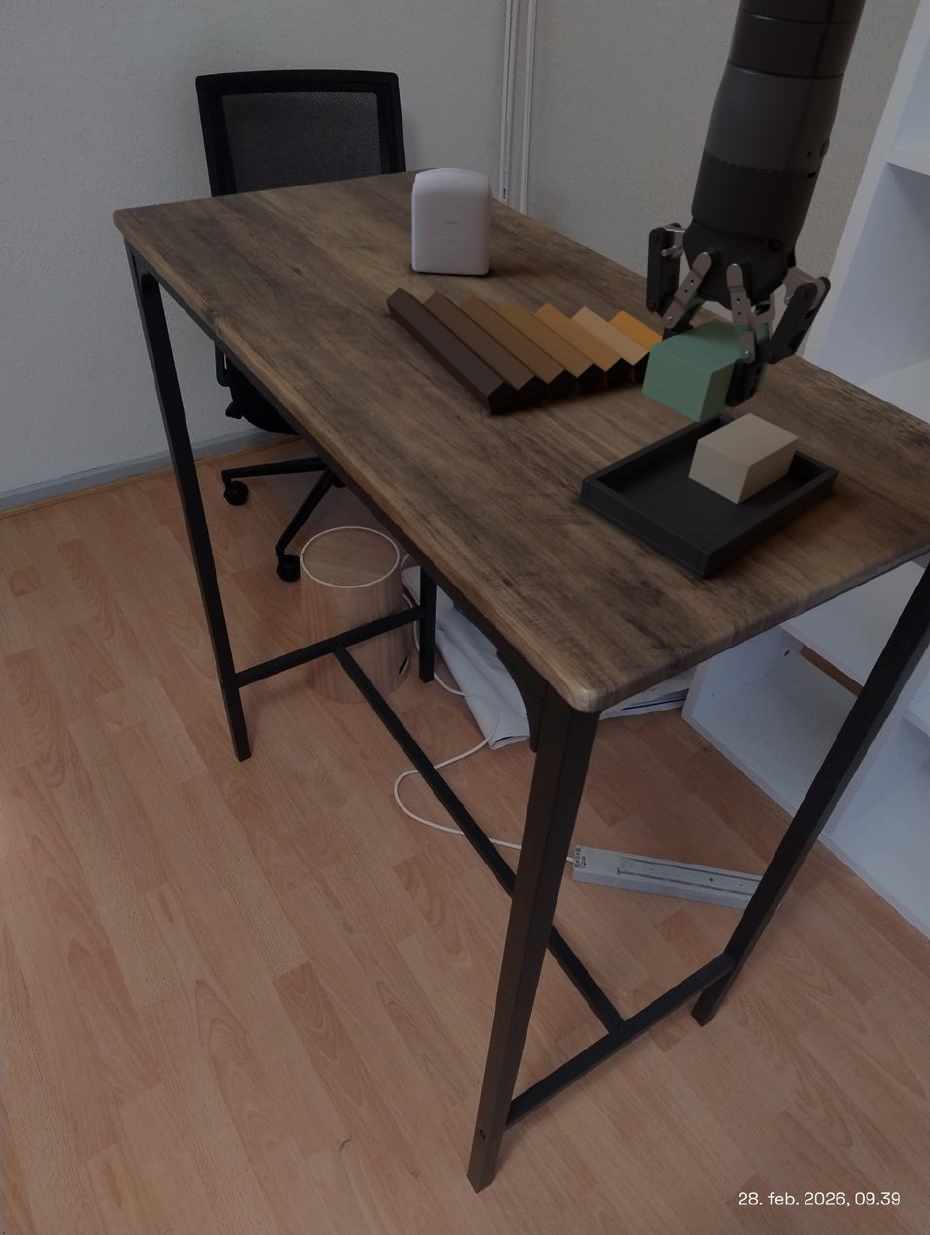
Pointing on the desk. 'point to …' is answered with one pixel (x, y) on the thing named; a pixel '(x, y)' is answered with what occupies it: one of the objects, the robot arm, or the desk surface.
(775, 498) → the tray
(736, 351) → the sage pad
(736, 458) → the beige pad
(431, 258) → the photo printer
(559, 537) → the desk surface
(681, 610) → the desk surface
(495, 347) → the pan flute
